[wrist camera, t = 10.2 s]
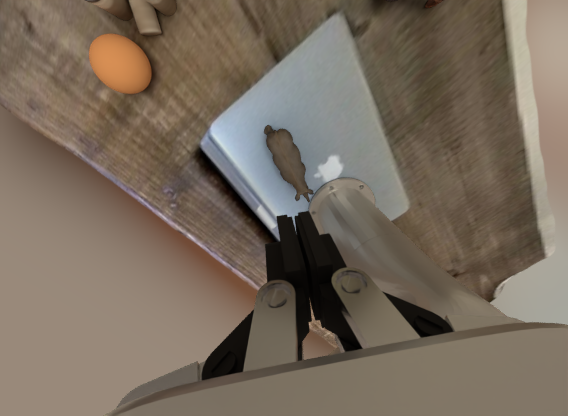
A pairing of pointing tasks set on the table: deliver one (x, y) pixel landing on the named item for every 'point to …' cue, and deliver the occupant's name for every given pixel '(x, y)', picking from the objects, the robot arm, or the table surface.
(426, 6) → the rust brown arched piece
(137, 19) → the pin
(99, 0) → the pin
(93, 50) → the ball
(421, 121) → the table surface
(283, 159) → the rhino figurine
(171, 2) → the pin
